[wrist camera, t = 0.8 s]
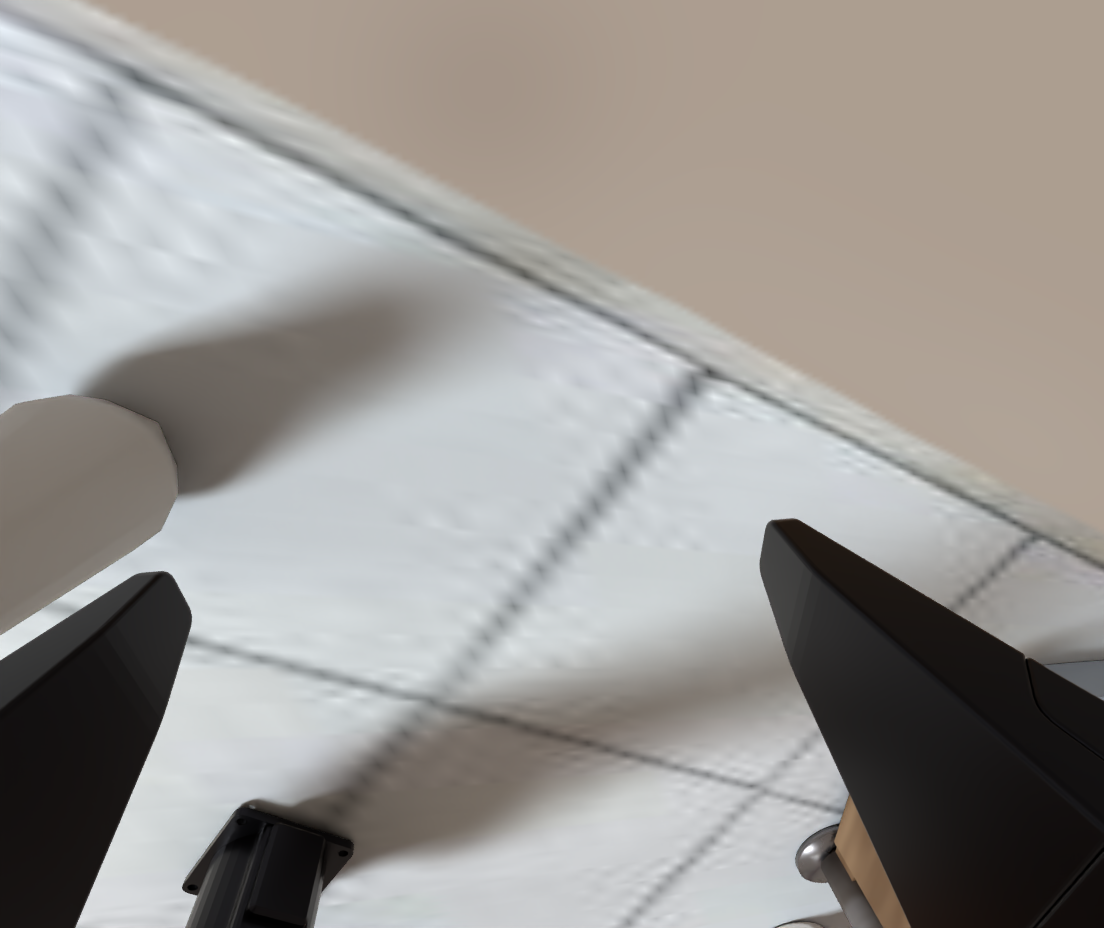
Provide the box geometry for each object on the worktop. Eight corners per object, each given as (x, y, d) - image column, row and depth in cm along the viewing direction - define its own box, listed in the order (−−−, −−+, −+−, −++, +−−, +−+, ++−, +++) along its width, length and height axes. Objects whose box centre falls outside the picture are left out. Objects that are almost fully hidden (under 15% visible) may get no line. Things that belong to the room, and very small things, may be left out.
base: (788, 880, 39) (791, 886, 38) (803, 828, 37) (807, 834, 36) (859, 871, 39) (863, 877, 39) (878, 819, 38) (882, 826, 37)
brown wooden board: (817, 876, 38) (928, 1089, 29) (868, 713, 32) (1026, 913, 23) (852, 871, 38) (973, 1081, 29) (909, 709, 33) (1080, 905, 24)
